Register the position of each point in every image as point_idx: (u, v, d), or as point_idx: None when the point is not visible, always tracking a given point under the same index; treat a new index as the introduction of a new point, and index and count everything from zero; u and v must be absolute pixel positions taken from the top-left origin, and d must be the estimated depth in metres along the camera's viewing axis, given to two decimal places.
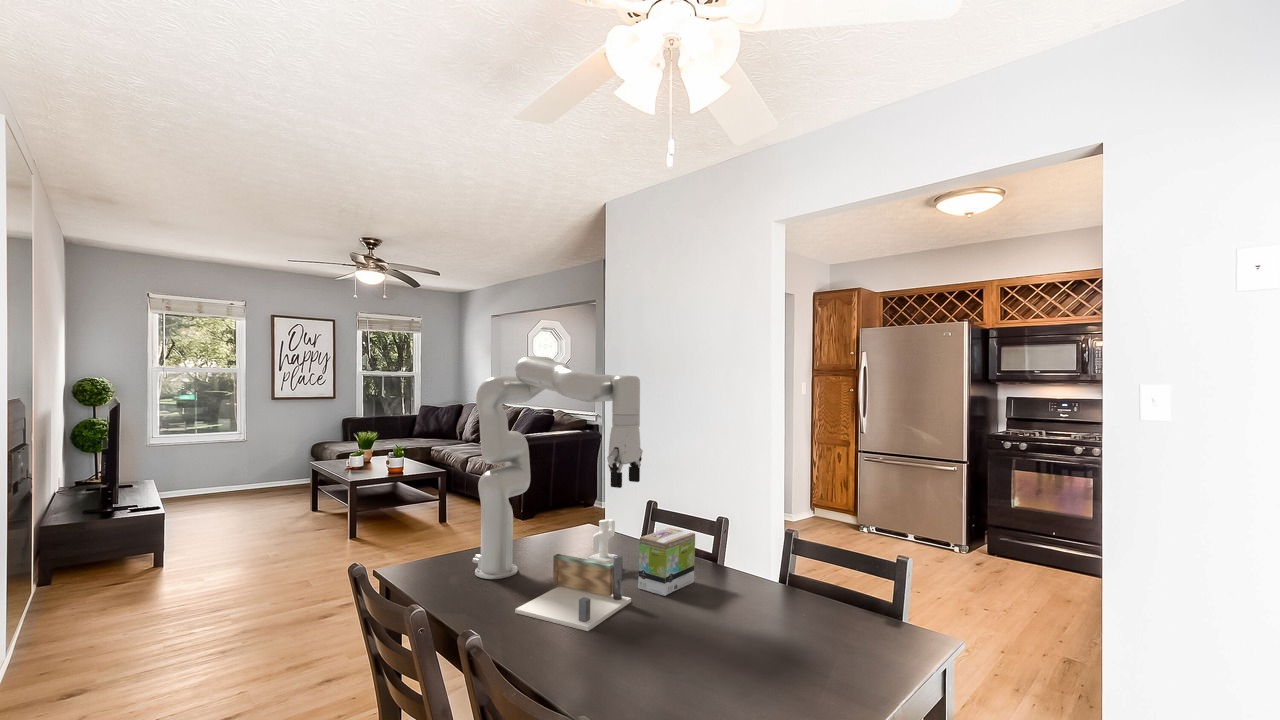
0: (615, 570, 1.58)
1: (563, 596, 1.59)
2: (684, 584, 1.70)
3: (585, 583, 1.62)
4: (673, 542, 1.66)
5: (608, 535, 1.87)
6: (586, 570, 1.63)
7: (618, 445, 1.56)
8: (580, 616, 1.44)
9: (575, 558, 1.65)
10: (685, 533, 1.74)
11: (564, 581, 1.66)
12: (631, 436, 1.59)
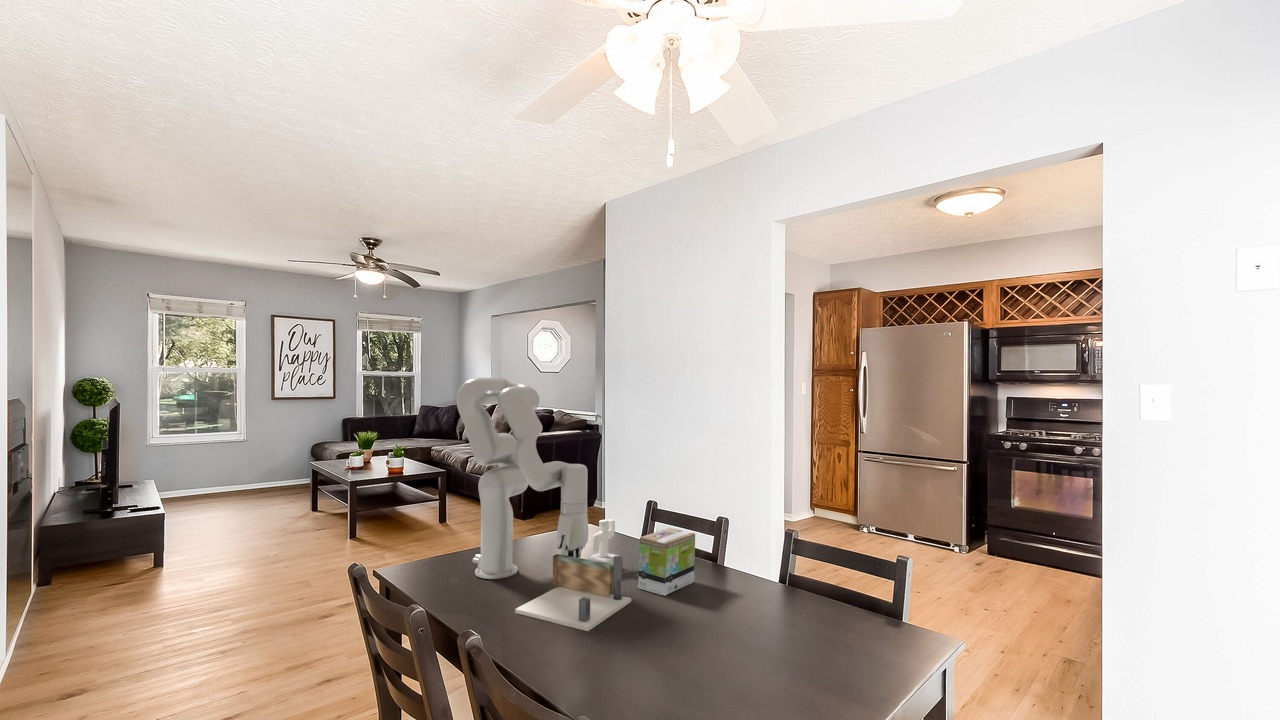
0: (615, 570, 1.58)
1: (563, 596, 1.59)
2: (684, 584, 1.70)
3: (585, 584, 1.62)
4: (673, 542, 1.66)
5: (608, 535, 1.87)
6: (585, 571, 1.62)
7: (565, 533, 1.66)
8: (580, 616, 1.44)
9: (575, 558, 1.65)
10: (685, 533, 1.74)
11: (563, 581, 1.66)
12: (578, 523, 1.68)
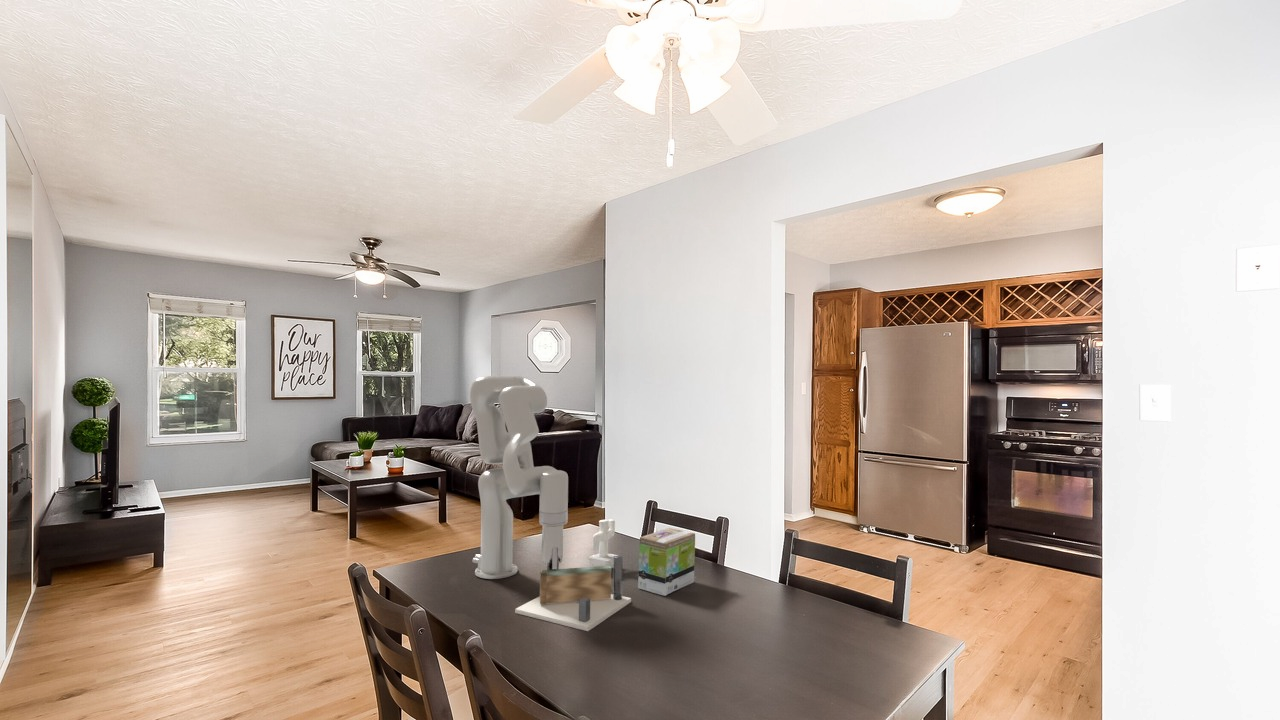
0: (615, 570, 1.58)
1: None
2: (684, 584, 1.70)
3: (581, 593, 1.56)
4: (673, 542, 1.66)
5: (608, 535, 1.87)
6: (582, 579, 1.56)
7: (557, 545, 1.54)
8: (580, 616, 1.44)
9: (566, 569, 1.55)
10: (685, 533, 1.74)
11: (554, 597, 1.54)
12: None
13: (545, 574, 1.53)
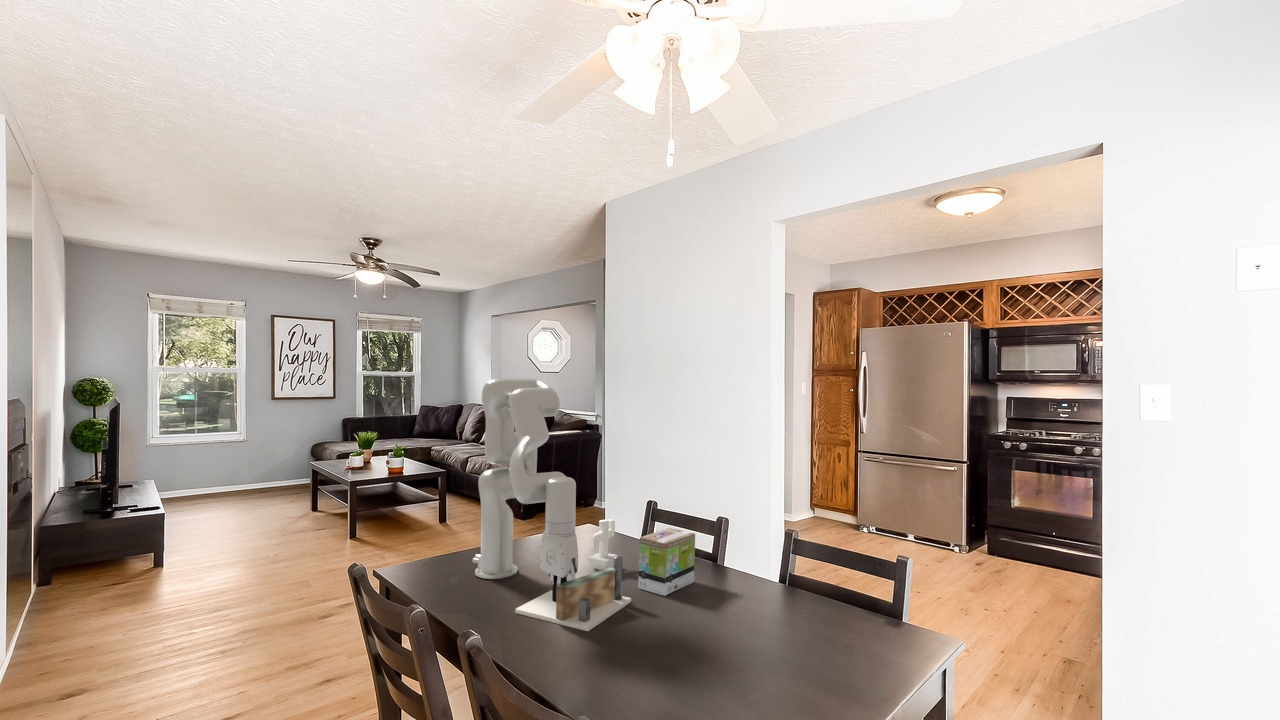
0: (615, 570, 1.58)
1: None
2: (684, 584, 1.70)
3: (593, 600, 1.51)
4: (673, 542, 1.66)
5: (608, 535, 1.87)
6: (593, 586, 1.51)
7: (574, 555, 1.46)
8: (580, 616, 1.44)
9: (580, 579, 1.48)
10: (685, 533, 1.74)
11: (572, 610, 1.45)
12: None
13: (565, 588, 1.44)
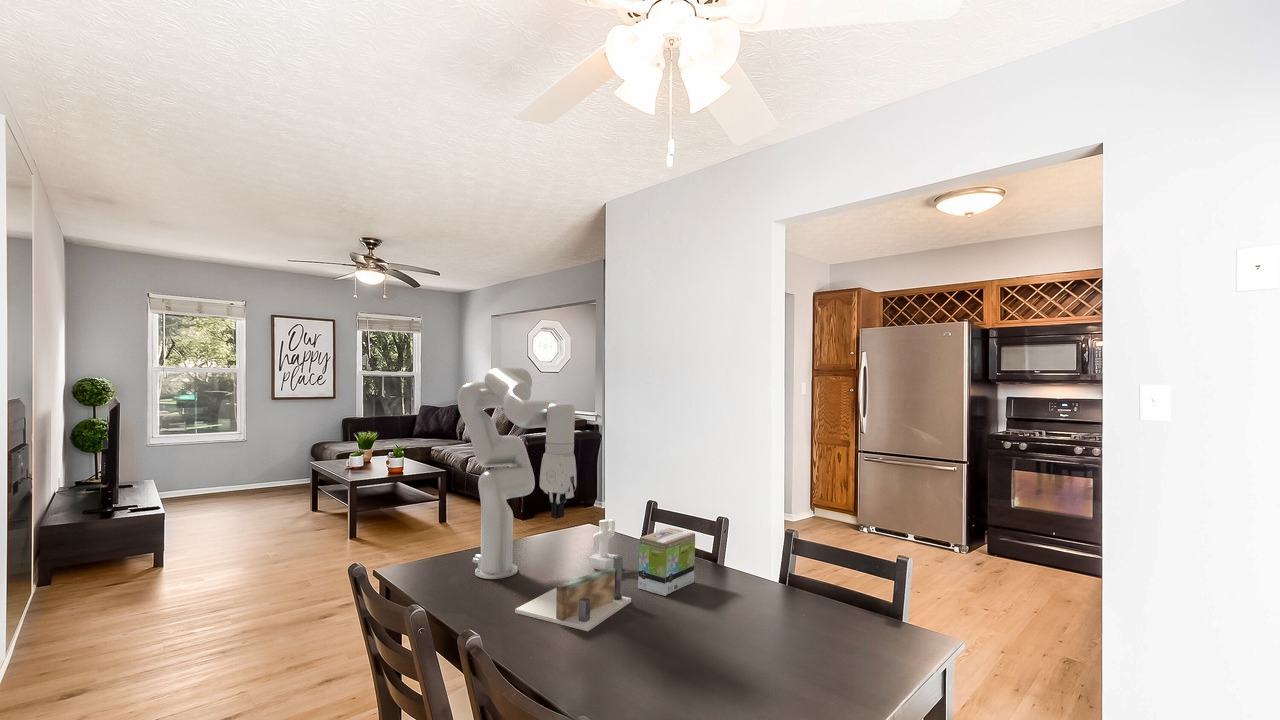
0: (615, 570, 1.58)
1: None
2: (684, 584, 1.70)
3: (593, 600, 1.51)
4: (673, 542, 1.66)
5: (608, 535, 1.87)
6: (593, 586, 1.51)
7: (573, 474, 1.56)
8: (580, 616, 1.44)
9: (580, 579, 1.48)
10: (685, 533, 1.74)
11: (572, 610, 1.45)
12: None
13: (565, 588, 1.44)
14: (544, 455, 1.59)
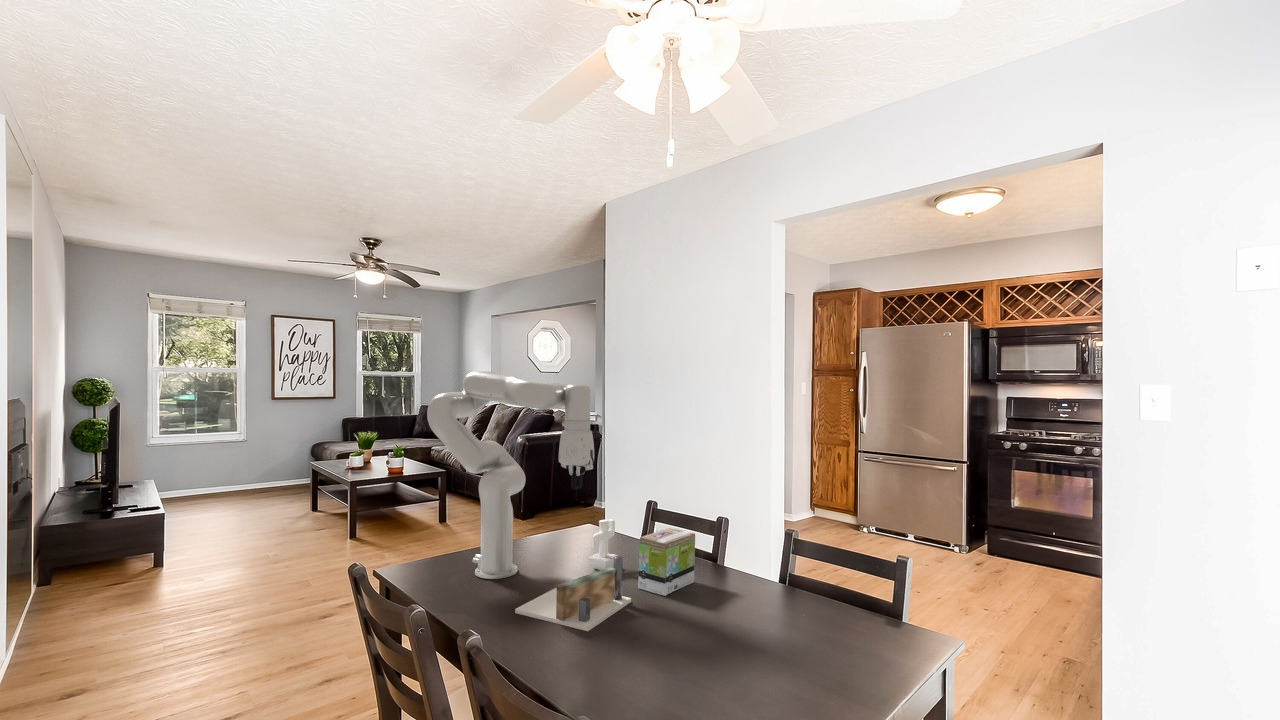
0: (615, 570, 1.58)
1: None
2: (684, 584, 1.70)
3: (593, 600, 1.51)
4: (673, 542, 1.66)
5: (608, 535, 1.87)
6: (593, 586, 1.51)
7: (592, 447, 1.74)
8: (580, 616, 1.44)
9: (580, 579, 1.48)
10: (685, 533, 1.74)
11: (572, 610, 1.45)
12: None
13: (565, 588, 1.44)
14: (563, 432, 1.75)
